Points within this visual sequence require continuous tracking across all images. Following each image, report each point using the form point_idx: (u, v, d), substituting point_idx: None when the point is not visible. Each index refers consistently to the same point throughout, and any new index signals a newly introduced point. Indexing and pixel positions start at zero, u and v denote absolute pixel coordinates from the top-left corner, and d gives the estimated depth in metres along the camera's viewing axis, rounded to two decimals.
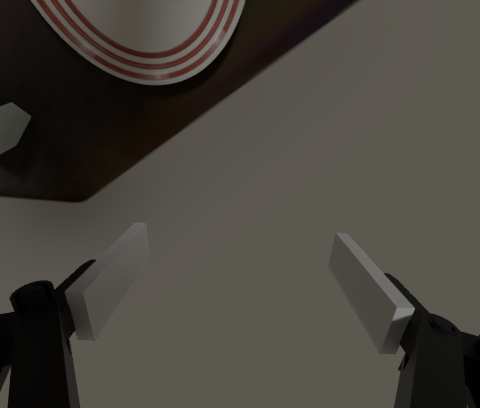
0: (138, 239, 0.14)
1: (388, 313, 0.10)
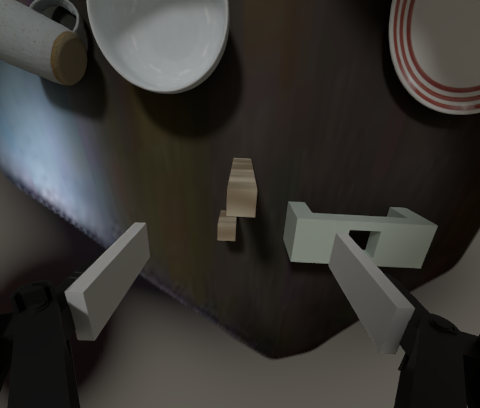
0: (138, 239, 0.14)
1: (388, 313, 0.10)
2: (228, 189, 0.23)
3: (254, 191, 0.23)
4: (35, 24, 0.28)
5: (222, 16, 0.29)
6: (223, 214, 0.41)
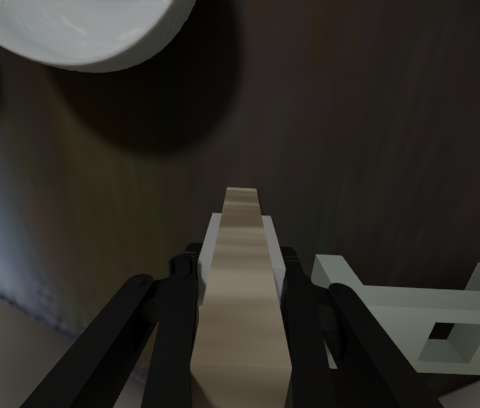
0: None
1: None
2: (194, 366, 0.07)
3: (281, 372, 0.07)
4: None
5: None
6: None
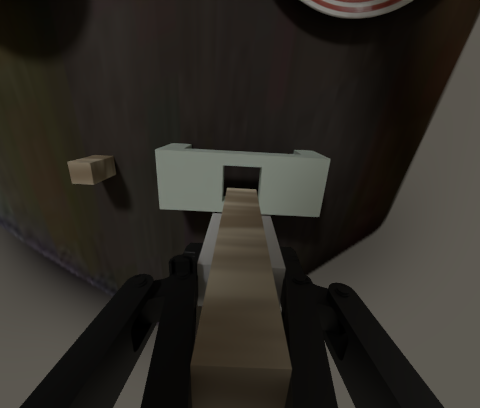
0: None
1: None
2: (194, 367, 0.07)
3: (281, 373, 0.07)
4: None
5: None
6: (91, 157, 0.34)
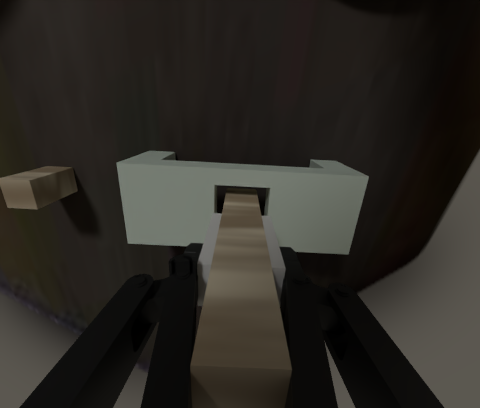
0: None
1: None
2: (194, 367, 0.07)
3: (281, 373, 0.07)
4: None
5: None
6: (39, 169, 0.26)
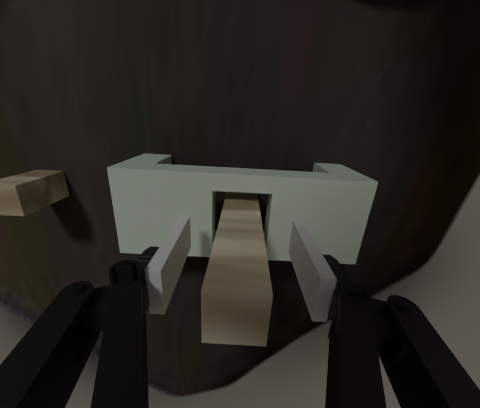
0: (186, 229, 0.16)
1: (317, 285, 0.11)
2: (204, 293, 0.10)
3: (265, 298, 0.10)
4: None
5: None
6: (28, 173, 0.24)
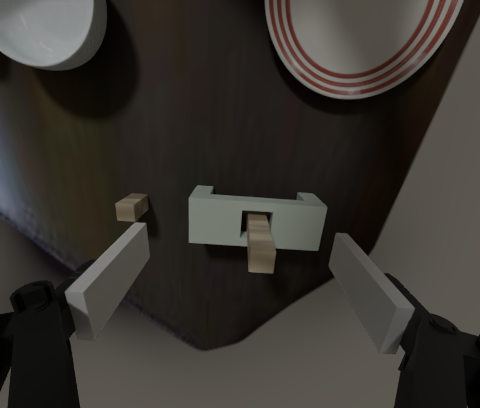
0: (138, 239, 0.14)
1: (388, 313, 0.10)
2: (251, 251, 0.27)
3: (273, 253, 0.27)
4: None
5: None
6: (130, 196, 0.42)
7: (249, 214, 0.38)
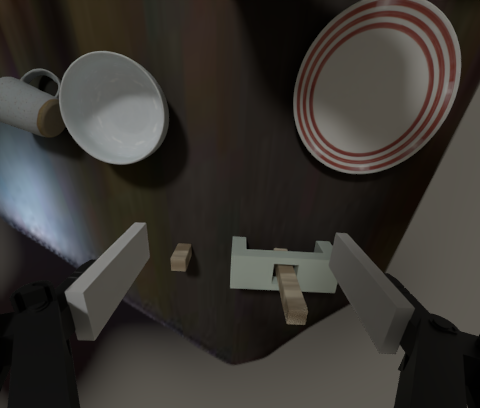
0: (138, 239, 0.14)
1: (388, 313, 0.10)
2: (289, 310, 0.36)
3: (306, 311, 0.36)
4: (25, 97, 0.36)
5: None
6: (178, 247, 0.51)
7: (279, 265, 0.46)
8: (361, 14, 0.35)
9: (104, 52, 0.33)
